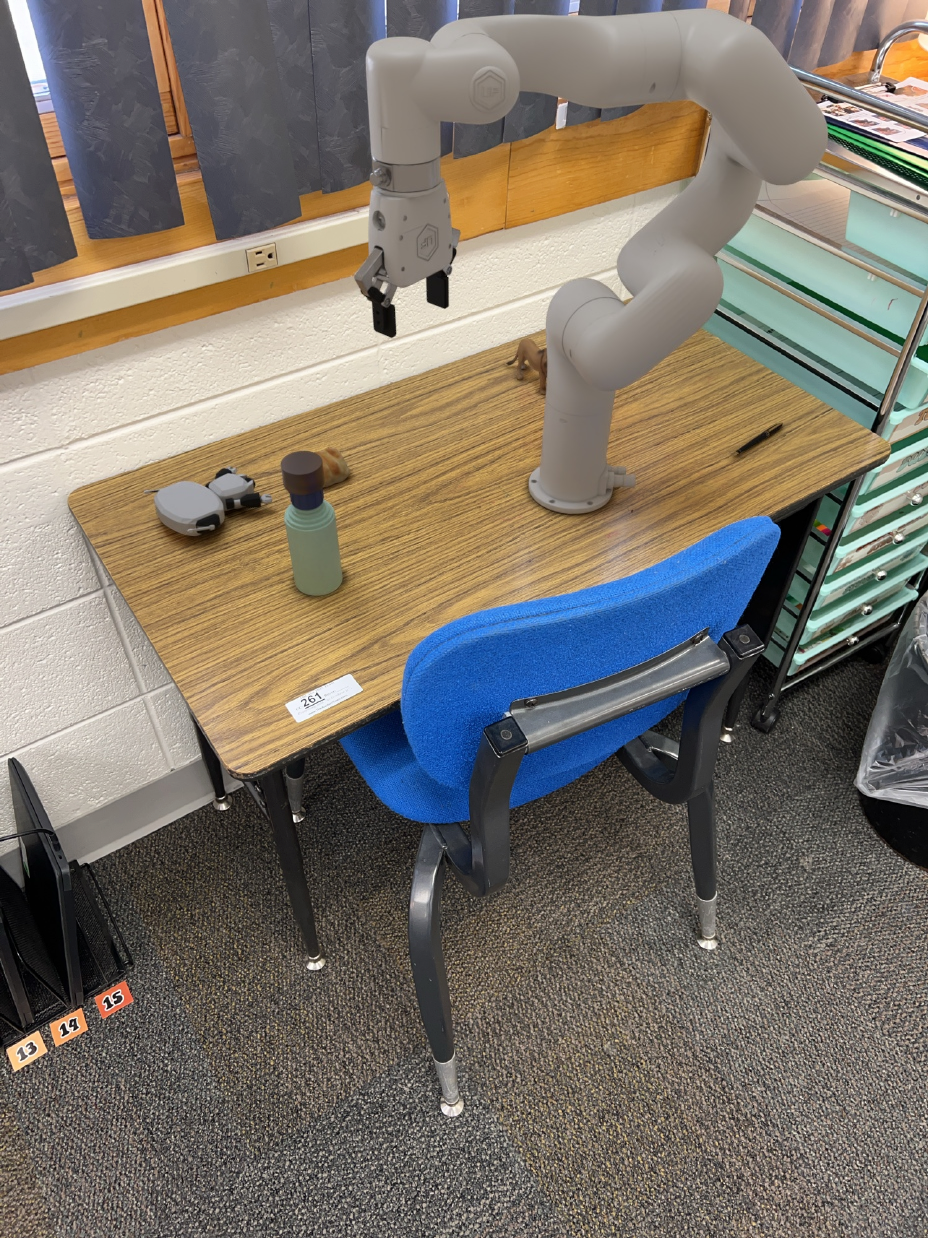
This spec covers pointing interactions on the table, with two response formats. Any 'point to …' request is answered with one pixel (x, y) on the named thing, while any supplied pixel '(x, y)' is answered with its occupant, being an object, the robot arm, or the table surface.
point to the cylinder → (302, 472)
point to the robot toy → (205, 501)
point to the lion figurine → (531, 361)
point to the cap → (307, 500)
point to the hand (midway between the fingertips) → (412, 318)
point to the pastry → (333, 466)
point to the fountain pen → (759, 438)
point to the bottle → (314, 549)
